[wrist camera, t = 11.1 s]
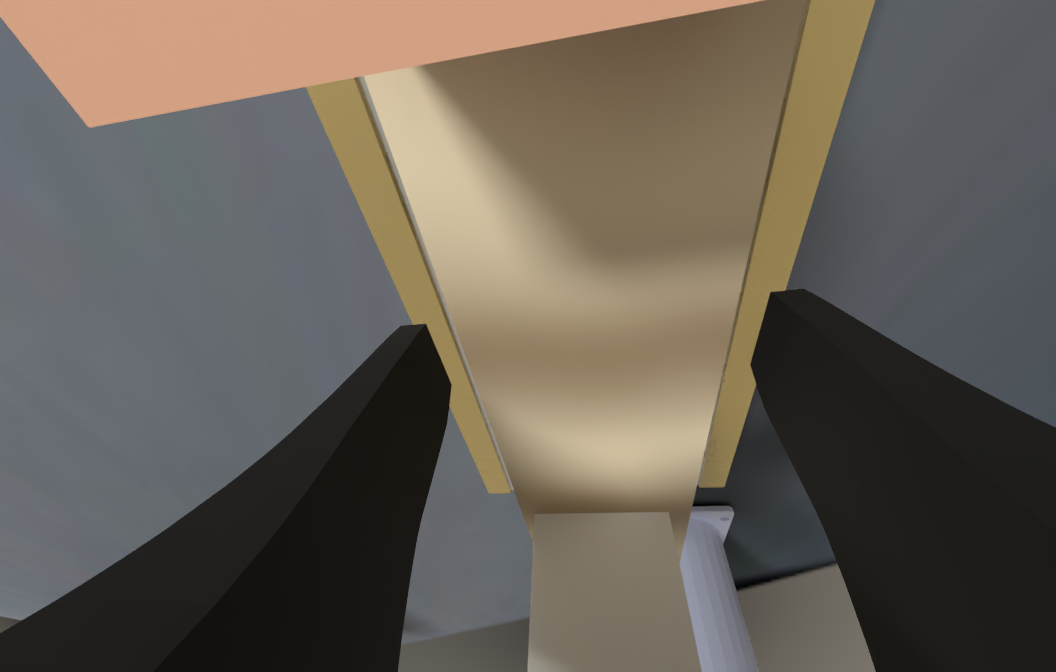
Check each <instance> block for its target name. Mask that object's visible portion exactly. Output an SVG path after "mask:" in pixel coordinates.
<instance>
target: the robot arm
mask: <svg viewBox="0 0 1056 672" xmlns="http://www.w3.org/2000/svg"><path fill="white" fill-rule="evenodd" d="M750 366H751V369H752V372H753V375H754V378H755V382H756V385H757V388H758V391H759V394H760V396H761V399H762V402H763V405H764V408H765V410H766V412H767V414H768V416H769V418H770V420H771V422H772V424H773V426H774V428H775V430H776V432H777V434H778V436H779V438H780V440H781V442H782V444H783V446H784V448H785V450H786V452H787V454H788V456H789V458H790V460H791V462H792V464H793V466H794V468H795V470H796V472H797V474H798V476H799V478H800V480H801V482H802V484H803V486H804V488H805V490H806V492H807V494H808V496H809V498H810V500H811V502H812V504H813V506H814V508H815V510H816V512H817V514H818V517H819V519H820V521H821V523H822V525H823V528H824V530H825V532H826V534H827V537H828V539H829V542H830V545H831V547H832V550H833V553H834V555H835V558H836V560H837V563H838V566H839V568H840V571H841V573H842V576H843V578H844V581H845V584H846V587H847V589H848V592H849V595H850V598H851V601H852V603H853V606H854V609H855V612H856V615H857V617H858V620H859V623H860V626H861V629H862V632H863V634H864V637H865V640H866V643H867V646H868V649H869V652H870V655H871V658H872V661H873V664H874V667H875V670H876V672H1056V428H1055V427H1053V426H1051V425H1049V424H1047V423H1045V422H1043V421H1040V420H1038V419H1036V418H1034V417H1032V416H1030V415H1028V414H1026V413H1024V412H1022V411H1020V410H1018V409H1016V408H1014V407H1012V406H1010V405H1008V404H1006V403H1004V402H1002V401H1001V400H999V399H997V398H995V397H993V396H991V395H989V394H987V393H985V392H984V391H982V390H980V389H978V388H976V387H974V386H972V385H970V384H968V383H967V382H965V381H963V380H961V379H959V378H957V377H955V376H953V375H952V374H950V373H948V372H946V371H944V370H943V369H941V368H939V367H937V366H935V365H934V364H932V363H930V362H928V361H927V360H925V359H923V358H921V357H920V356H918V355H916V354H914V353H913V352H911V351H909V350H907V349H906V348H904V347H902V346H901V345H899V344H897V343H895V342H894V341H892V340H890V339H889V338H887V337H885V336H884V335H882V334H880V333H879V332H877V331H875V330H874V329H872V328H870V327H869V326H867V325H865V324H864V323H862V322H860V321H859V320H857V319H855V318H854V317H852V316H850V315H849V314H847V313H845V312H844V311H842V310H840V309H839V308H837V307H835V306H834V305H832V304H830V303H829V302H827V301H825V300H823V299H822V298H820V297H818V296H816V295H815V294H813V293H811V292H809V291H807V290H805V289H797V290H786V291H776V292H770V295H769V299H768V302H767V306H766V310H765V313H764V317H763V320H762V324H761V327H760V331H759V335H758V338H757V342H756V345H755V349H754V352H753V356H752V360H751V363H750ZM451 387H452V384H451V382H450V379H449V377H448V375H447V372H446V370H445V368H444V365H443V363H442V360H441V358H440V356H439V353H438V351H437V349H436V346H435V344H434V341H433V339H432V337H431V334H430V332H429V330H428V327H427V325H426V324H417V325H406V326H400V327H399V328H398V329H397V330H396V331H395V332H393V333H392V334H391V335H390V336H389V337H388V338H387V339H386V340H385V341H384V342H383V343H382V344H381V345H380V346H379V347H378V348H377V349H376V350H375V351H374V352H373V353H372V354H371V355H370V356H369V357H368V359H367V360H366V361H365V362H364V363H363V364H362V365H361V366H360V367H359V368H358V369H357V370H356V371H355V372H354V373H353V374H352V375H351V376H350V377H349V378H348V379H347V380H346V381H345V382H344V383H343V384H342V385H341V386H340V387H339V388H338V389H337V390H336V391H335V392H334V393H333V394H332V395H331V396H330V397H329V398H327V399H326V400H325V401H324V402H323V403H322V404H321V405H320V406H319V407H318V408H317V409H316V410H315V411H314V412H312V413H311V414H310V415H309V416H308V417H307V418H306V419H305V420H304V421H303V422H302V423H301V424H300V425H298V426H297V427H296V428H295V429H294V430H293V431H292V432H291V433H290V434H289V435H288V436H286V437H285V438H284V439H283V440H282V441H281V442H280V443H278V444H277V445H276V446H275V447H274V448H273V449H271V450H270V451H269V452H268V453H267V454H265V455H264V456H263V457H262V458H260V459H259V460H258V461H257V462H256V463H254V464H253V465H252V466H251V467H249V468H248V469H247V470H246V471H244V472H243V473H242V474H241V475H239V476H238V477H237V478H236V479H234V480H233V481H232V482H230V483H229V484H228V485H227V486H225V487H224V488H222V489H221V490H220V491H218V492H217V493H216V494H214V495H213V496H211V497H210V498H209V499H207V500H206V501H205V502H203V503H202V504H200V505H199V506H198V507H196V508H195V509H194V510H192V511H191V512H189V513H188V514H187V515H185V516H184V517H182V518H181V519H180V520H178V521H177V522H176V523H174V524H173V525H171V526H170V527H169V528H167V529H166V530H164V531H163V532H161V533H160V534H159V535H157V536H156V537H154V538H153V539H151V540H150V541H148V542H147V543H145V544H144V545H142V546H141V547H139V548H138V549H136V550H135V551H133V552H132V553H130V554H129V555H127V556H126V557H124V558H123V559H121V560H119V561H118V562H116V563H115V564H113V565H112V566H110V567H109V568H107V569H105V570H104V571H102V572H101V573H99V574H98V575H96V576H95V577H93V578H91V579H90V580H88V581H87V582H85V583H84V584H82V585H80V586H79V587H77V588H75V589H74V590H72V591H71V592H69V593H67V594H66V595H64V596H63V597H61V598H59V599H58V600H56V601H54V602H53V603H51V604H49V605H48V606H46V607H44V608H42V609H41V610H39V611H37V612H36V613H34V614H32V615H31V616H29V617H27V618H26V619H24V620H22V621H20V622H19V623H17V624H15V625H14V626H12V627H10V628H9V629H7V630H5V631H4V632H2V633H0V672H398V664H399V656H400V648H401V639H402V631H403V624H404V617H405V611H406V604H407V597H408V590H409V583H410V577H411V571H412V565H413V559H414V553H415V547H416V542H417V536H418V532H419V527H420V523H421V519H422V515H423V511H424V507H425V504H426V500H427V496H428V493H429V489H430V485H431V481H432V478H433V474H434V470H435V467H436V463H437V459H438V456H439V452H440V448H441V444H442V441H443V437H444V433H445V429H446V425H447V418H448V412H449V404H450V396H451ZM733 517H734V511H733V508H732V507H730V506H692V510H691V515H690V519H689V524H688V528H687V532H686V537H685V541H684V546H683V550H682V555H681V559H680V569H681V573H682V578H683V583H684V588H685V593H686V598H687V602H688V607H689V612H690V617H691V622H692V627H693V631H694V636H695V641H696V646H697V651H698V656H699V660H700V665H701V670H702V672H760V671H759V668H758V664H757V661H756V657H755V654H754V650H753V647H752V643H751V640H750V637H749V633H748V630H747V626H746V623H745V619H744V616H743V612H742V609H741V605H740V602H739V598H738V595H737V592H736V588H735V585H734V581H733V578H732V574H731V571H730V567H729V564H728V561H727V557H726V554H725V550H724V547H723V543H724V541H725V538H726V535H727V533H728V530H729V527H730V525H731V522H732V519H733Z"/></svg>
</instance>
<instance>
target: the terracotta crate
mask: <svg viewBox="0 0 1056 672" xmlns="http://www.w3.org/2000/svg"><path fill="white" fill-rule="evenodd" d="M759 1H764V0H0V17H1V18H2V19H3V21H4V22H5V23H6V24H7V26H8V27H9V28H10V29H11V31H12V32H13V33H14V34H15V36H16V37H17V38H18V39H19V41H20V42H21V43H22V45H23V46H24V47H25V48H26V50H27V51H28V52H29V53H30V55H31V56H32V57H33V58H34V60H35V61H36V62H37V63H38V65H39V66H40V67H41V68H42V70H43V71H44V72H45V73H46V75H47V76H48V77H49V78H50V80H51V81H52V82H53V83H54V85H55V86H56V87H57V88H58V90H59V91H60V92H61V93H62V95H63V96H64V97H65V98H66V100H67V101H68V102H69V103H70V105H71V106H72V107H73V108H74V110H75V111H76V112H77V113H78V115H79V116H80V117H81V118H82V120H83V121H84V122H85V123H86V125H87V126H88V127H89V128H90V127H95V126H101V125H106V124H111V123H117V122H122V121H127V120H132V119H138V118H143V117H148V116H154V115H159V114H164V113H170V112H175V111H180V110H186V109H191V108H196V107H201V106H207V105H212V104H217V103H223V102H228V101H233V100H239V99H244V98H249V97H255V96H260V95H265V94H270V93H276V92H281V91H286V90H292V89H297V88H302V87H308V86H313V85H318V84H323V83H329V82H334V81H339V80H345V79H350V78H355V77H361V76H366V75H371V74H377V73H382V72H387V71H392V70H398V69H403V68H408V67H414V66H419V65H424V64H430V63H435V62H440V61H446V60H451V59H456V58H461V57H467V56H472V55H477V54H483V53H488V52H493V51H499V50H504V49H509V48H515V47H520V46H525V45H530V44H536V43H541V42H546V41H552V40H557V39H562V38H568V37H573V36H578V35H584V34H589V33H594V32H599V31H605V30H610V29H615V28H621V27H626V26H631V25H637V24H642V23H647V22H652V21H658V20H663V19H668V18H674V17H679V16H684V15H690V14H695V13H700V12H706V11H711V10H716V9H721V8H727V7H732V6H737V5H743V4H748V3H753V2H759Z"/></svg>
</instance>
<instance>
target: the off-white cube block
mask: <svg viewBox="0 0 1056 672" xmlns="http://www.w3.org/2000/svg"><path fill="white" fill-rule="evenodd" d="M528 672H702V670H701V665H700V660H699V656H698V651H697V646H696V641H695V636H694V631H693V627H692V622H691V617H690V612H689V607H688V602H687V598H686V593H685V588H684V583H683V578H682V573H681V569H680V564H679V559H678V554H677V549H676V544H675V540H674V535H673V530H672V525H671V520H670V515H669V512H625V513H562V514H534V536H533V559H532V582H531V605H530V629H529V651H528Z"/></svg>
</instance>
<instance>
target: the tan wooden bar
mask: <svg viewBox="0 0 1056 672" xmlns="http://www.w3.org/2000/svg"><path fill="white" fill-rule="evenodd" d="M804 4H805V0H764V1H759V2H753V3H748V4H743V5H737V6H732V7H727V8H721V9H716V10H711V11H706V12H700V13H695V14H690V15H684V16H679V17H674V18H668V19H663V20H658V21H652V22H647V23H642V24H637V25H631V26H626V27H621V28H615V29H610V30H605V31H599V32H594V33H589V34H584V35H578V36H573V37H568V38H562V39H557V40H552V41H546V42H541V43H536V44H530V45H525V46H520V47H515V48H509V49H504V50H499V51H493V52H488V53H483V54H477V55H472V56H467V57H461V58H456V59H451V60H446V61H440V62H435V63H430V64H424V65H419V66H414V67H408V68H403V69H398V70H392V71H387V72H382V73H377V74H371V75H366V76H364V78H365V81H366V84H367V87H368V89H369V92H370V95H371V98H372V100H373V103H374V106H375V109H376V111H377V114H378V117H379V120H380V122H381V125H382V128H383V131H384V133H385V136H386V139H387V142H388V144H389V147H390V150H391V153H392V155H393V158H394V161H395V164H396V166H397V169H398V172H399V175H400V177H401V180H402V183H403V186H404V188H405V191H406V194H407V197H408V199H409V202H410V205H411V208H412V210H413V213H414V216H415V219H416V222H417V224H418V227H419V230H420V233H421V235H422V238H423V241H424V244H425V246H426V249H427V252H428V255H429V257H430V260H431V263H432V266H433V268H434V271H435V274H436V277H437V279H438V282H439V285H440V288H441V290H442V293H443V296H444V299H445V301H446V304H447V307H448V310H449V312H450V315H451V318H452V321H453V323H454V326H455V329H456V332H457V334H458V337H459V340H460V343H461V345H462V348H463V351H464V354H465V356H466V359H467V362H468V365H469V367H470V370H471V373H472V376H473V378H474V381H475V384H476V387H477V390H478V392H479V395H480V398H481V401H482V403H483V406H484V409H485V412H486V414H487V417H488V420H489V423H490V425H491V428H492V431H493V434H494V436H495V439H496V442H497V445H498V447H499V450H500V453H501V456H502V458H503V461H504V464H505V467H506V469H507V472H508V475H509V478H510V480H511V483H512V486H513V489H514V491H515V494H516V497H517V500H518V502H519V505H520V508H521V511H522V513H523V516H524V519H525V522H526V524H527V527H528V530H529V533H530V535H531V538H532V541H533V536H534V514H562V513H625V512H669V515H670V520H671V525H672V530H673V535H674V540H675V544H676V549H677V554H678V559H679V564H680V559H681V555H682V550H683V546H684V541H685V537H686V532H687V528H688V524H689V519H690V515H691V510H692V506H693V501H694V497H695V492H696V488H697V483H698V479H699V474H700V470H701V465H702V461H703V456H704V452H705V447H706V443H707V438H708V434H709V430H710V425H711V421H712V416H713V412H714V407H715V403H716V398H717V394H718V389H719V385H720V380H721V376H722V371H723V367H724V362H725V358H726V353H727V349H728V345H729V340H730V336H731V331H732V327H733V322H734V318H735V313H736V309H737V304H738V300H739V295H740V291H741V286H742V282H743V277H744V273H745V268H746V264H747V260H748V255H749V251H750V246H751V242H752V237H753V233H754V228H755V224H756V219H757V215H758V210H759V206H760V201H761V197H762V192H763V188H764V183H765V179H766V175H767V170H768V166H769V161H770V157H771V152H772V148H773V143H774V139H775V134H776V130H777V125H778V121H779V116H780V112H781V107H782V103H783V98H784V94H785V90H786V85H787V81H788V76H789V72H790V67H791V63H792V58H793V54H794V49H795V45H796V40H797V36H798V31H799V27H800V22H801V18H802V13H803V9H804Z"/></svg>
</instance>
